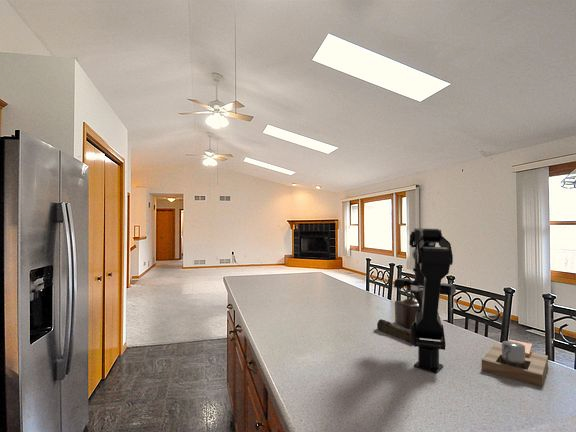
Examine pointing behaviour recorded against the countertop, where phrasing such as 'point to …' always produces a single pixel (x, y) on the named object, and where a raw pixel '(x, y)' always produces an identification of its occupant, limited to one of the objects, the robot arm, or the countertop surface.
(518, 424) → the countertop surface
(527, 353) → the pink flat plate
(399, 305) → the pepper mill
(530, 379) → the hole plate
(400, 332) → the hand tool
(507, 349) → the peg
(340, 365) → the countertop surface
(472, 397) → the countertop surface
